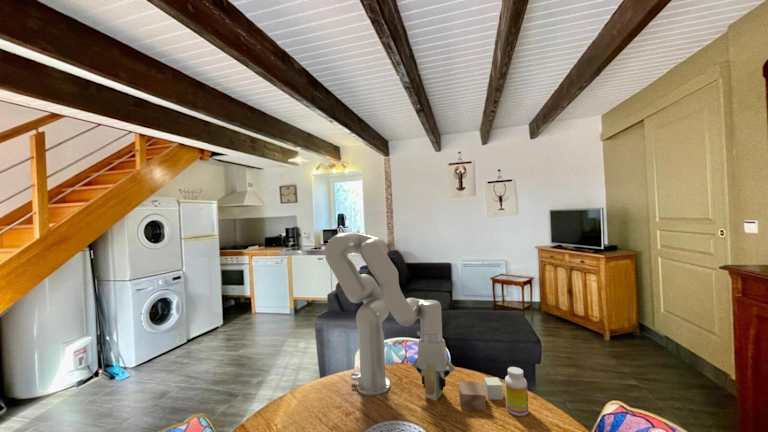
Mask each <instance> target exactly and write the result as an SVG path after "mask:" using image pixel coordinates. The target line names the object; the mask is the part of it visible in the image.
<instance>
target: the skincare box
mask: <svg viewBox="0 0 768 432" xmlns="http://www.w3.org/2000/svg"><path fill="white" fill-rule="evenodd" d="M440 379H441V374H440V372H437V371H436V368H435V365H431V364H429V365H427V370H424V381H425V388H424V397H425V398H427V399H430V400H433V401H435V402H436V401H437V400H438V399H439V398H440V397H441V396H442V394H443V393H444V389H443V390H441V384H440Z"/></svg>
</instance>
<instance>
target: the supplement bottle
mask: <svg viewBox="0 0 768 432" xmlns="http://www.w3.org/2000/svg"><path fill="white" fill-rule="evenodd" d="M504 388H505V390H504V391H505V393H504V394H505V408H506V410H507V411H508V413H510V414H512V415H514V416H517V417H524V416H526V415H528V413H529V397H528V396H529V394H528V393H529V391H528V382H527V379H526V378H525V377H524V370H523V369H521V368H520V367H518V366H517V367H516V366H509V367H508V368H507V375H506V376H505V378H504Z"/></svg>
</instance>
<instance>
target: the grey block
mask: <svg viewBox="0 0 768 432" xmlns="http://www.w3.org/2000/svg"><path fill="white" fill-rule="evenodd" d="M483 387H484V391H485V395H486V397H487V398H486V399H487V400H492V401H493V400H504V389H503V383H502V382H501V380H500V378H499V377H498V376H497V377H494V376H493V377H483Z"/></svg>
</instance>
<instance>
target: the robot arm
mask: <svg viewBox="0 0 768 432" xmlns="http://www.w3.org/2000/svg"><path fill="white" fill-rule="evenodd" d="M388 250H389V247H388V244H387V242H386V241H385V240H384V239H382V238H379V237H375V236H371V235H366V234H364V233H360V232H354V231H351V232H342V233H341V232H340V233H337V234H336V235H334V236H332V237H331V238H330V239H329V240H328V241H327V244H326V247H325V253H324V254H325V259H326V263H327V264H328V266H329V268H330V269H331V271H332V273H333V274H334V276H335V278H336V280H337V281H338V284H339V285H340V287H341V289H342V290H343V293H344V295H345V296H346V298H347V300H349V302H350V303H353V304H359V303H362V302H363V304H362V305H361V306H360V308H359V309H358V310H357V312H356V317H355V322H356V327H357V333H358V347H359V348H358V349H359V350H358V351H359V372H357V371H352V372H351V374H350V377H351V380H352V381H357V382H356V390H357V391H358V392H359V393H360V394H362V395H365V396H372V397H373V396H379V395H382V394H384V393H386V392H387V391H388V390H389V389H390V388H391V387H390V386H391V382H390V380H389V379H388V378H387V376H386V359H385V358H386V357H385V353H386V352H385V335H384V331H383V326H382V325H383V322H384V321H385V320H386V318H387V317H388V316H389V314H391V316H392V318H394V320H395V321H396V322H397V323H398V324H399V325H401V326H403V327H409V326H411V325H413V324H415V322H416V321H417V320H418V319H419V321H420V331H416V335H417V336H419V337H420V338H419V340H418V343H417V344H418V345H417V356H416V358H415V360H413V362H412V363H411V365H412V367H413V368H414V369H415V370H416V371H417V373H418V374H419V375H420V377H421V384H422V385H423V388H424V389H425V381H424V370H427V365H429V364H431V365H435V368H436V371H437V372H440V374H441V379H440V384H441V390H443V391H444V388H445V387H446V378H447V377H448V376H449V375H450V374H451V373H453V371H454V370H455V365H453V364H452V363H451V361H450V360H449V359H448V353H447V345H446V341H445V339H444V338H443V322H442V321H443V320H442V317H443V316H442V304H441V303H440V301H438V300H436V299H435V300H434V299H420V298H416V297H407V298H406V297H405V296H404V294H403V292H402V289H401V287H400V283H399V282H400V279H399V272H398V269H397V267H396V266H395V264H394V263H393V262H392V260H391V259H390V257H389V256H388V253H389V252H388ZM351 254H358V255H360V256H361V257H360V258H362V260H363V261H364V263H365V264H366V266H367V267H368V269H369V271H370V272H371V274H372V275H373V276H371V275H370V274H367V273H362V274H360V272H359V270H358V269H357V267H356V265H355V263H354V262H353V261H352V260H351V259H350V258H349V256H348V255H351Z"/></svg>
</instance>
